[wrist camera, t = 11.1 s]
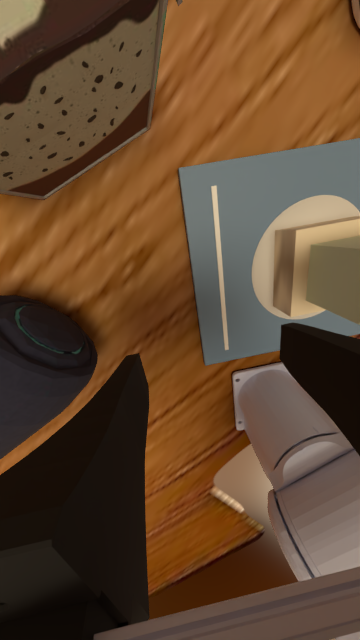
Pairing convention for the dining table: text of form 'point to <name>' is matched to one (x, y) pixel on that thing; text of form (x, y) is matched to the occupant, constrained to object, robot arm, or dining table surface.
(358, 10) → the supplement bottle
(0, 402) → the portable speaker
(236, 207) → the board
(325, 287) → the sage block
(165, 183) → the dining table surface
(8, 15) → the food container
